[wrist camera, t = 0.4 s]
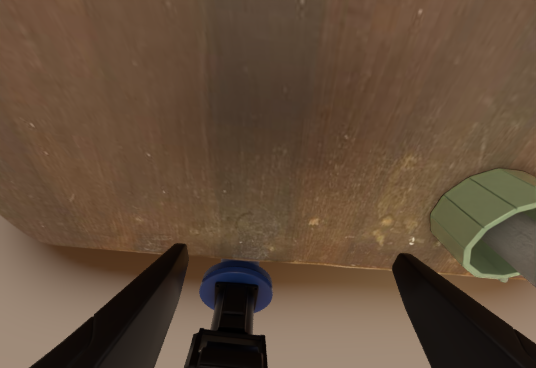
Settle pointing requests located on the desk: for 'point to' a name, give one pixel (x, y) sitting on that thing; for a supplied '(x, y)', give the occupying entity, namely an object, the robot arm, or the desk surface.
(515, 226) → the grey hollow cylinder
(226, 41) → the desk surface
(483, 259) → the mug
